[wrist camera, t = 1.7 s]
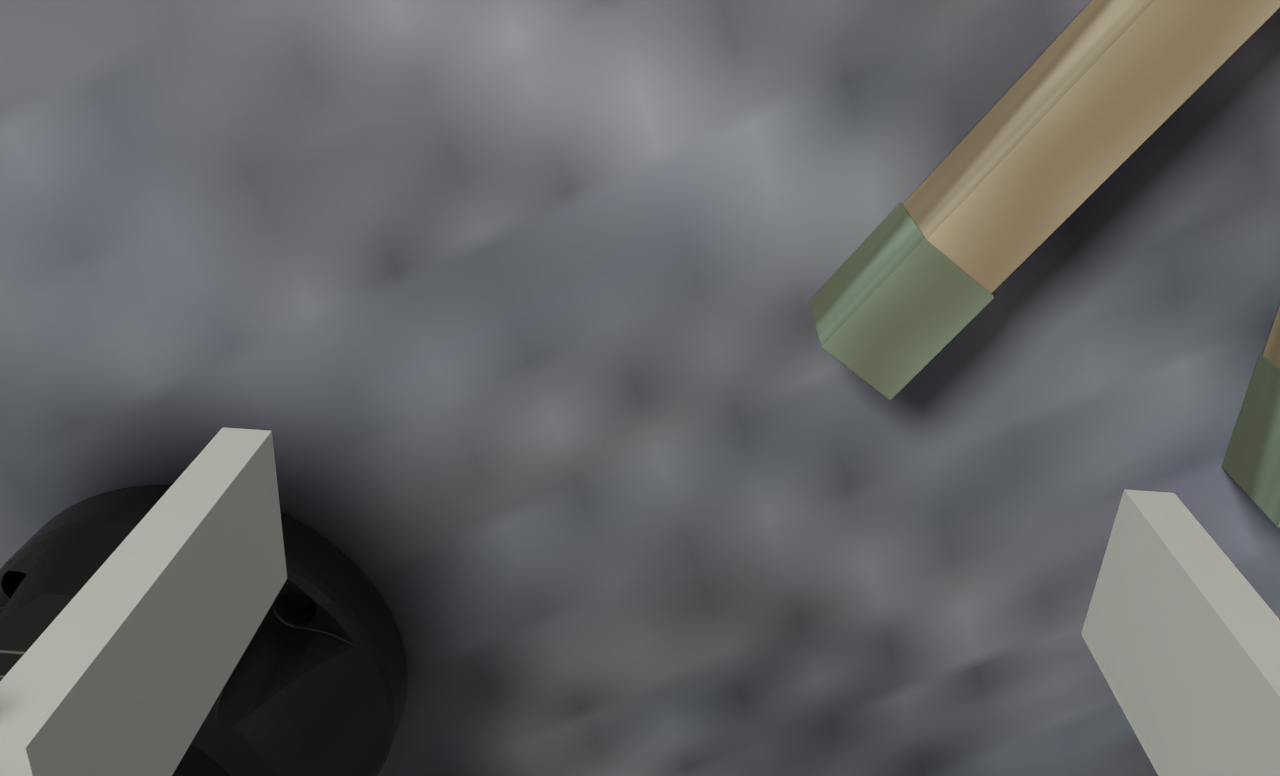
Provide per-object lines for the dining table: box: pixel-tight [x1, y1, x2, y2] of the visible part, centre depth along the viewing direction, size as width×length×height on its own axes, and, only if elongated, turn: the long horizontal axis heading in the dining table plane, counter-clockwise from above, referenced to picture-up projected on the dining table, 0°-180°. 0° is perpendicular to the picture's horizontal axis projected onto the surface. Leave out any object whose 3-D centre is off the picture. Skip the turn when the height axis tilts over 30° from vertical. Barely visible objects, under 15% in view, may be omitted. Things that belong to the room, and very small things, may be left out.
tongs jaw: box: [809, 0, 1280, 400], centre depth 27 cm, size 4×20×4 cm, turn 142°
